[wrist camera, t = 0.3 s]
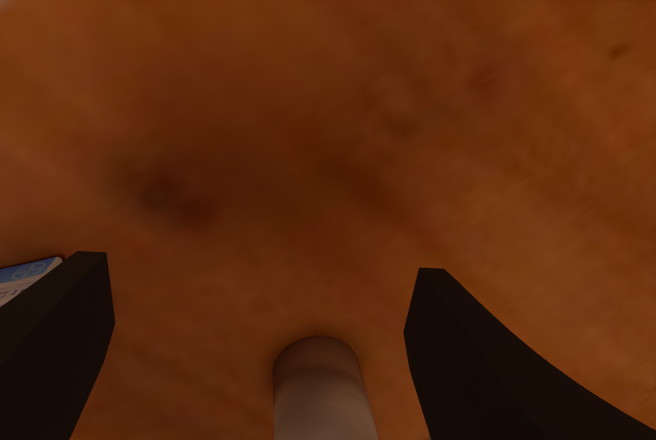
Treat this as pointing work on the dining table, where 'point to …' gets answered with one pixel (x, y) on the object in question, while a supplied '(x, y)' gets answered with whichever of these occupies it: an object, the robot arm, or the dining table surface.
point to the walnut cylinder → (320, 393)
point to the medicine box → (23, 277)
